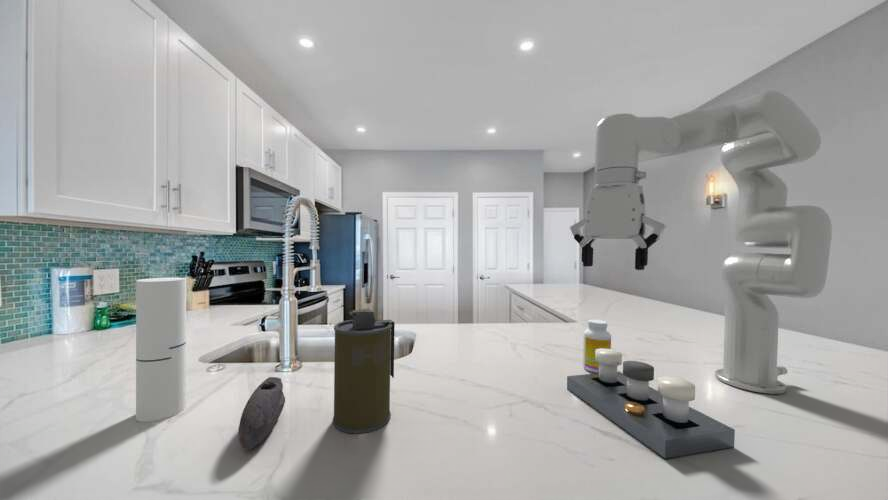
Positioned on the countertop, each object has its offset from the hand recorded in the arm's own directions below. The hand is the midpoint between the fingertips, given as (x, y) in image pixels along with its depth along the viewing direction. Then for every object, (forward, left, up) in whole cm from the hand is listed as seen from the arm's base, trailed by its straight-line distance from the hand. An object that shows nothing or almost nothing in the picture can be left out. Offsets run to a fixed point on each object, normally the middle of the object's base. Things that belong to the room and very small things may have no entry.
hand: (612, 267), depth 65 cm
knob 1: (-5, -6, -25) cm, 26 cm away
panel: (-5, +2, -28) cm, 29 cm away
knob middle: (-5, +2, -25) cm, 25 cm away
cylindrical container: (+84, -17, -29) cm, 91 cm away
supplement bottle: (-13, -19, -29) cm, 37 cm away
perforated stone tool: (+64, -6, -29) cm, 71 cm away
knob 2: (-5, +10, -25) cm, 27 cm away
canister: (+47, -7, -29) cm, 56 cm away
